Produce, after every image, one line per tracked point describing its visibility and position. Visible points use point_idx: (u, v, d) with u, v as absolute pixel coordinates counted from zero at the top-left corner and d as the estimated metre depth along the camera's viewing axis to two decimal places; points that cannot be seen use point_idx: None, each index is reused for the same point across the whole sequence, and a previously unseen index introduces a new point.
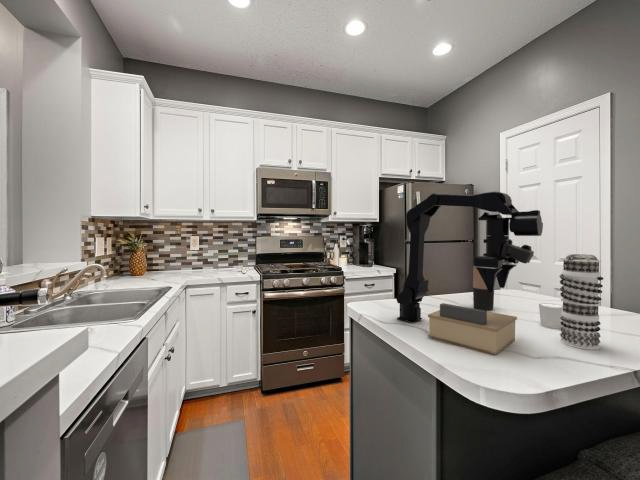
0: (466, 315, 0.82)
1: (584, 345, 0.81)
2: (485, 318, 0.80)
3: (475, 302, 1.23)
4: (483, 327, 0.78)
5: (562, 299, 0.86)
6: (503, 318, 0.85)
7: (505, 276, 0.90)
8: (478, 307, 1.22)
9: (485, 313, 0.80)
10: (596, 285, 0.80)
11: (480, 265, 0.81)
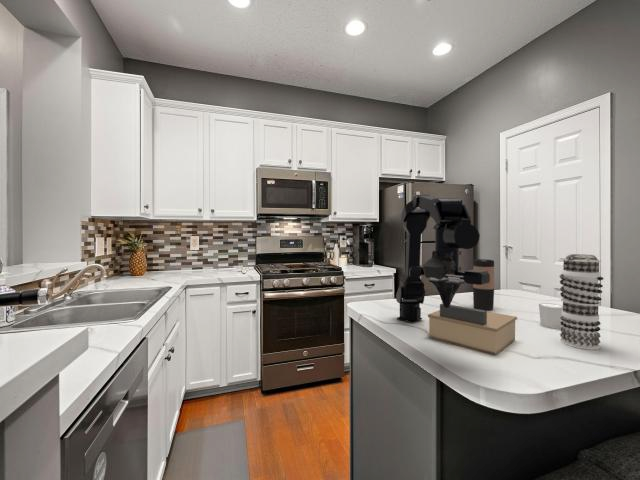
0: (466, 315, 0.82)
1: (584, 345, 0.81)
2: (485, 318, 0.80)
3: (475, 302, 1.23)
4: (483, 327, 0.78)
5: (562, 299, 0.86)
6: (503, 318, 0.85)
7: None
8: (478, 307, 1.22)
9: (485, 313, 0.80)
10: (596, 285, 0.80)
11: None
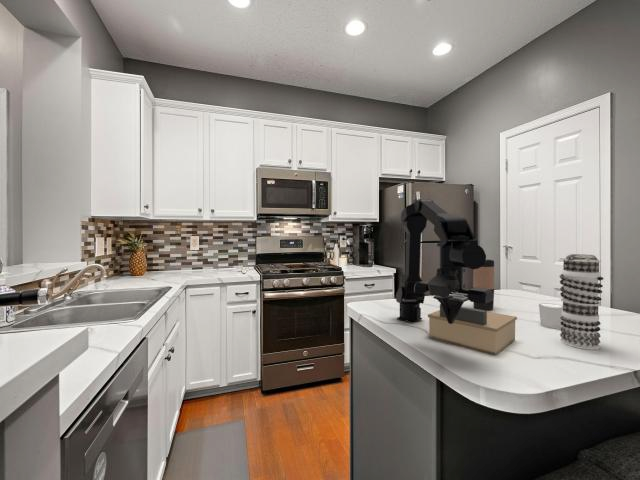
0: (466, 315, 0.82)
1: (584, 345, 0.81)
2: (485, 318, 0.80)
3: None
4: (483, 327, 0.78)
5: (562, 299, 0.86)
6: (503, 318, 0.85)
7: None
8: (478, 307, 1.22)
9: (485, 313, 0.80)
10: (596, 285, 0.80)
11: None
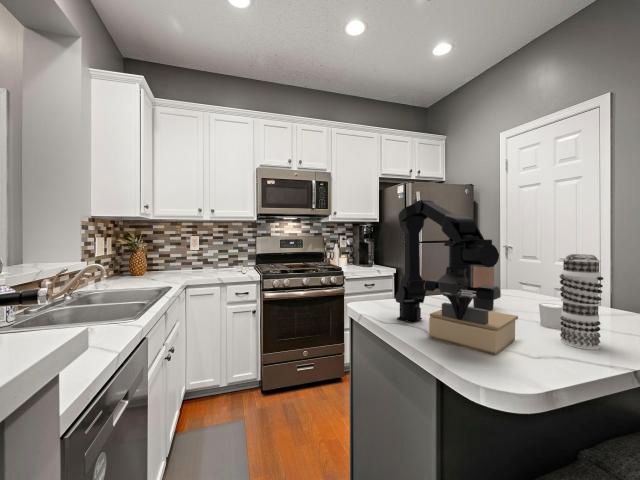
0: (468, 314, 0.83)
1: (584, 345, 0.81)
2: (487, 317, 0.81)
3: (475, 302, 1.23)
4: (485, 326, 0.79)
5: (562, 299, 0.86)
6: (504, 317, 0.86)
7: None
8: (478, 307, 1.22)
9: (487, 312, 0.81)
10: (596, 285, 0.80)
11: None
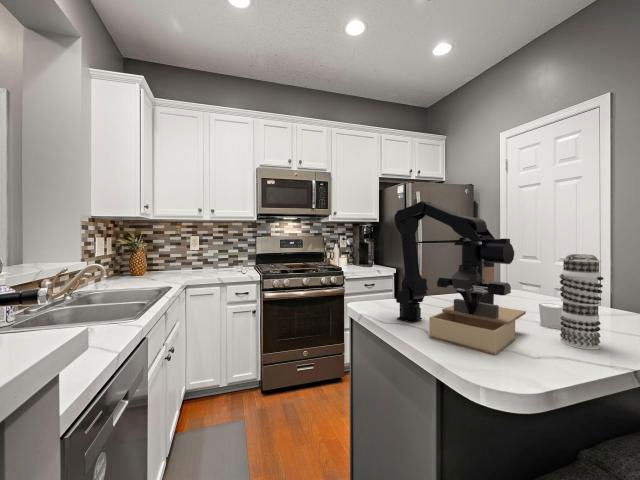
0: (479, 309, 0.88)
1: (584, 345, 0.81)
2: (497, 312, 0.86)
3: None
4: (495, 320, 0.85)
5: (562, 299, 0.86)
6: (513, 312, 0.92)
7: None
8: None
9: (497, 307, 0.86)
10: (596, 285, 0.80)
11: None
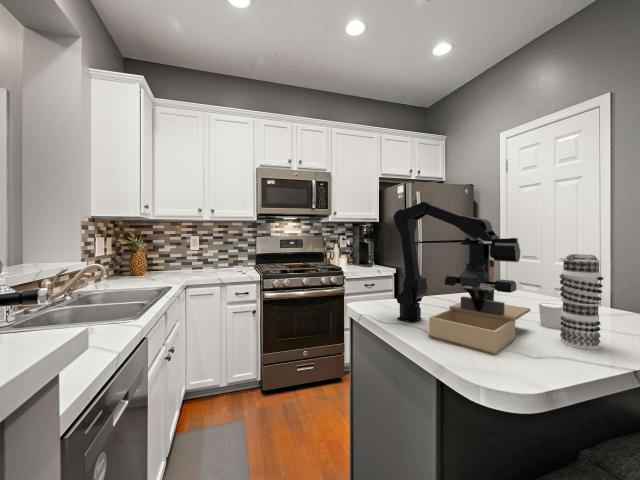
0: (485, 306, 0.92)
1: (584, 345, 0.81)
2: (503, 309, 0.89)
3: None
4: (501, 317, 0.88)
5: (562, 299, 0.86)
6: (518, 309, 0.95)
7: None
8: None
9: (503, 304, 0.89)
10: (596, 285, 0.80)
11: None
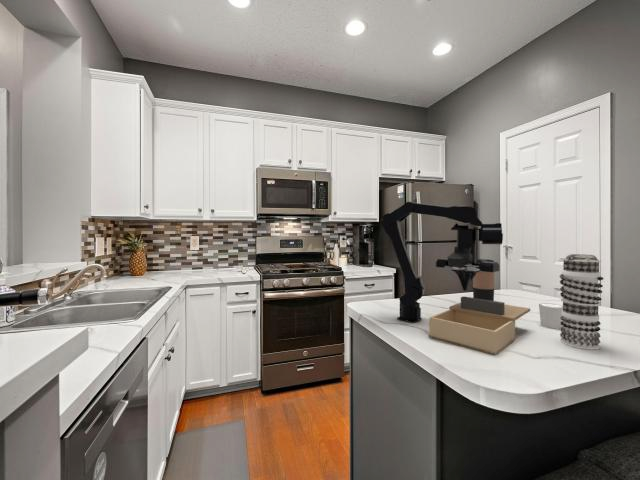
0: (485, 306, 0.92)
1: (584, 345, 0.81)
2: (503, 309, 0.89)
3: None
4: (501, 317, 0.88)
5: (562, 299, 0.86)
6: (518, 309, 0.95)
7: None
8: None
9: (503, 304, 0.89)
10: (596, 285, 0.80)
11: None
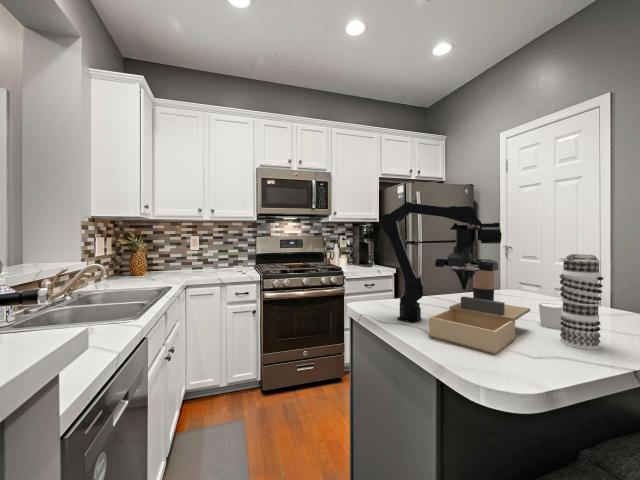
0: (485, 306, 0.92)
1: (584, 345, 0.81)
2: (503, 309, 0.89)
3: None
4: (501, 317, 0.88)
5: (562, 299, 0.86)
6: (518, 309, 0.95)
7: None
8: None
9: (503, 304, 0.89)
10: (596, 285, 0.80)
11: None
